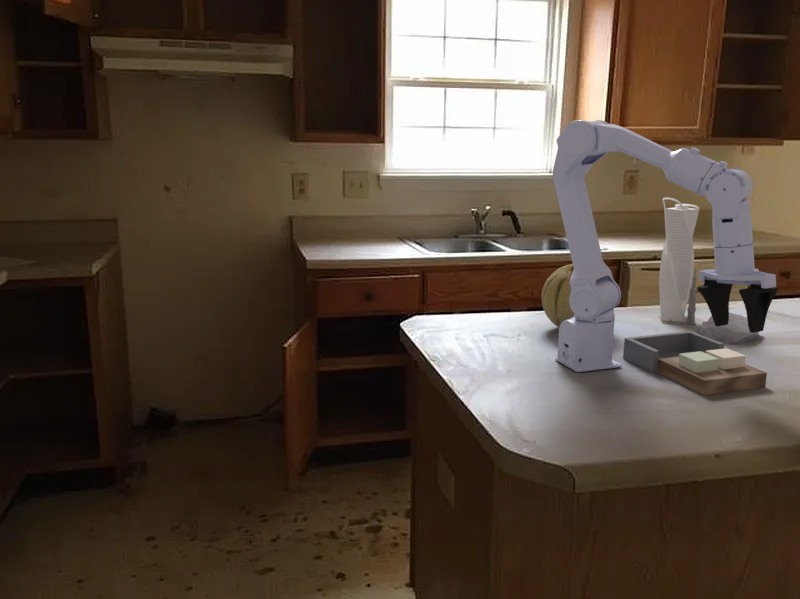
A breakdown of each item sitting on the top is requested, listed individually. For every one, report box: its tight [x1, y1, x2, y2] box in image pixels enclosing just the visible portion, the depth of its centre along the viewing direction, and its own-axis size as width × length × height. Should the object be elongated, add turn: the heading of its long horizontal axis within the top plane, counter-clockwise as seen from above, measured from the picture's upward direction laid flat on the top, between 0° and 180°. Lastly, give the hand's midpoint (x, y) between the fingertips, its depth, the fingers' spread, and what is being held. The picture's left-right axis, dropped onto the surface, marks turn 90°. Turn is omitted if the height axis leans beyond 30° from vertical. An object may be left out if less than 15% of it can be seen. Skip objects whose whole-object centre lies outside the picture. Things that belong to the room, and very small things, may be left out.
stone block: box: [699, 312, 760, 345], centre depth 151 cm, size 12×5×10 cm
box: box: [622, 330, 725, 374], centre depth 135 cm, size 15×9×4 cm, turn 108°
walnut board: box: [657, 357, 768, 396], centre depth 125 cm, size 12×12×2 cm
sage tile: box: [678, 351, 719, 373], centre depth 124 cm, size 4×4×2 cm
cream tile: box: [705, 348, 746, 369], centre depth 126 cm, size 4×4×2 cm
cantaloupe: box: [541, 263, 574, 328], centre depth 155 cm, size 15×15×15 cm
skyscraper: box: [658, 196, 700, 326], centre depth 162 cm, size 8×8×28 cm
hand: (738, 328), depth 117 cm, fingers open, 7 cm apart
